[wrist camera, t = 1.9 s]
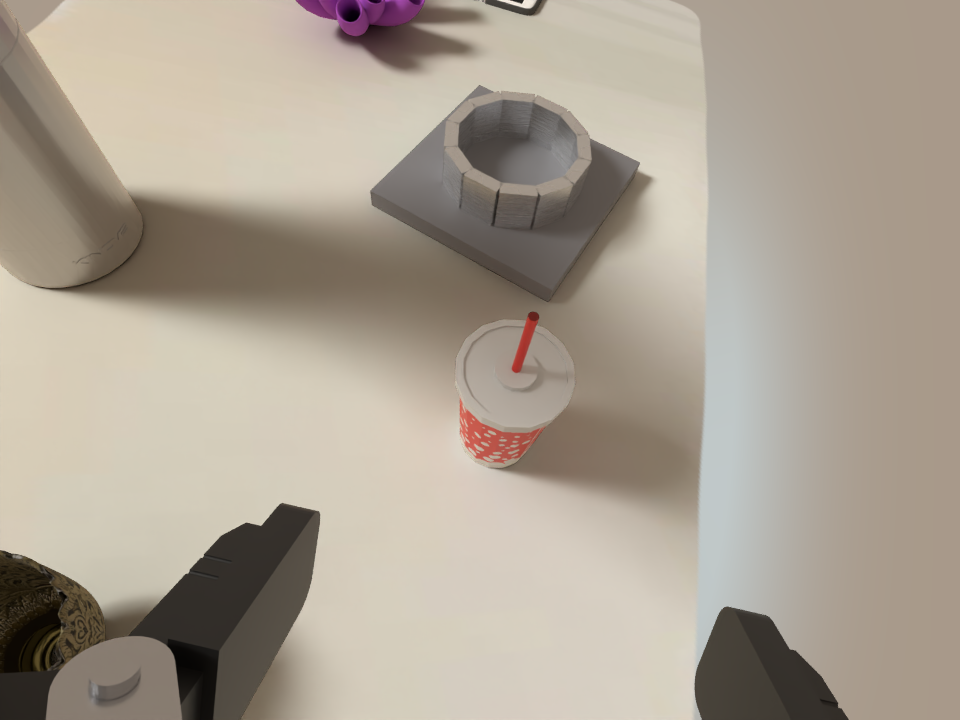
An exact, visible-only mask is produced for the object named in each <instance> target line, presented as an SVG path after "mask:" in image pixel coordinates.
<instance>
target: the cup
mask: <svg viewBox="0 0 960 720" xmlns="http://www.w3.org/2000/svg"><path fill="white" fill-rule="evenodd" d="M104 641H105V623H104V618H103V614H102V611H101V609H100V607H99V605H98V603H97V601H96V600H95V599H94V597H93V596H92V595H91V594H90V593H89V592H88V591H87V590H86V589H85V588H84V587H82V586H81V585H80V584H78V583H77V582H75V581H74V580H72V579H70V578H68V577H66V576H65V575H63V574H61V573H59V572H56V571H54V570H52V569H50V568H48V567H46V566H44V565H41V564H39V563H37V562H36V561H34V560H32V559H30V558H27V557H25V556H22V555H18V554H11V553H9V552H6V551H2V550H0V673H17V672H36V671H50V670H58V669H62V668H63V667H64V666H65V665H66V663H68V662H69V661H70V660H71V659H72V658H74V657H75V656H76V655H78V654H80V653H81V652H83V651H84V650H86V649H88V648H90V647H92V646H94V645H96V644H99V643H101V642H104ZM55 645H56V649H55V653H56V656H57V658H58V661H57V663H55V664H54V665H53V666H52V665H51V661H50V657H51V653H52V650H53V648H54V647H55Z"/></svg>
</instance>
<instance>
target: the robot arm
mask: <svg viewBox="0 0 960 720" xmlns="http://www.w3.org/2000/svg"><path fill="white" fill-rule="evenodd" d="M142 230H143V221H142V216H141V214H140V212H139V210H138V208H137V206H136V205H135V203H134V202H133V200H132V199H131V197H130V195H129V194H128V192H127V191H126V189H125V188H124V186H123V185H122V183H121V181H120V180H119V178H118V177H117V175H116V174H115V172H114V170H113V168H112V167H111V165H110V164H109V162H108V161H107V159H106V158H105V156H104V154H103V153H102V151H101V150H100V148H99V147H98V145H97V144H96V142H95V140H94V139H93V137H92V136H91V134H90V133H89V131H88V130H87V128H86V126H85V125H84V123H83V122H82V120H81V119H80V117H79V115H78V114H77V112H76V111H75V109H74V108H73V106H72V105H71V103H70V101H69V100H68V98H67V97H66V95H65V94H64V92H63V91H62V89H61V87H60V86H59V84H58V83H57V81H56V80H55V78H54V77H53V75H52V73H51V72H50V70H49V69H48V67H47V66H46V64H45V63H44V61H43V59H42V58H41V56H40V55H39V53H38V52H37V50H36V49H35V47H34V45H33V44H32V42H31V41H30V39H29V38H28V36H27V35H26V33H25V31H24V30H23V28H22V27H21V25H20V24H19V22H18V21H17V19H16V18H15V17H14V15H13V13H12V12H11V10H10V9H9V7H8V6H7V4H6V2H5V1H4V0H0V264H1V265H2V266H3V267H4V268H5V269H6V270H7V271H8V272H9V273H10V274H12V275H13V276H15V277H16V278H18V279H19V280H20V281H23V282H26V283H28V284H31V285H34V286H40V287H46V288H63V287H70V286H76V285H80V284H84V283H87V282H90V281H93V280H96V279H98V278H100V277H102V276H104V275H106V274H108V273H110V272H111V271H113V270H114V269H116V268H117V267H119V266H120V265H121V264H122V263H123V262H124V261H125V260H126V259H127V258H128V257H130V256H131V254H132V253H133V251H134V250H135V249H136V247H137V246H138V243H139V241H140V239H141V236H142ZM319 525H320V513H319V511H315V510H310V509H306V508H301V507H297V506H293V505H288V504H284V503H281V504H280V505H279V506H278V507H277V508H276V509H275V510H274V511H273V513H272V514H271V515H270V516H269V517H268V519H267V520H266V521H265V522H264V523H263V525H262V526H259V525H254V524H250V523H245V524H243V525H241V526H239V527H237V528H235V529H233V530H231V531H230V532H228V533H226V534H224V535H222V536H221V537H220V538H219V539H218V540H217V541H216V542H215V543H214V544H213V545H212V546H211V547H210V549H209V550H208V551H207V552H206V553H205V554H204V557H203V558H200V559H199V560H198V561H197V563H196V564H195V565H194V566H193V567H192V568H191V569H190V571H189V573H188V574H185V575H184V576H183V578H182V579H181V580H180V581H179V582H178V583H177V584H176V585H175V586H174V587H173V588H172V589H171V590H170V592H169V593H168V594H167V595H166V596H165V597H164V598H163V599H162V600H161V601H160V602H159V603H158V604H157V606H156V607H155V608H154V609H153V610H152V611H151V612H150V613H149V614H148V615H147V616H146V617H145V618H144V620H143V621H142V622H141V623H140V624H139V625H138V626H137V627H136V628H135V629H134V630H133V631H132V632H131V634H130V635H129V636H127V637H120V638H114V639H111V640H107V641H104V642H101V643H99V644H96V645H94V646H92V647H90V648H88V649H86V650H84V651H83V652H81V653H80V654H78V655H76V656H75V657H74V658H72V659H71V660H70V661H69V662H68V663H66V665H65V666H64V667H63V668H62V669H58V670H50V671H36V672H17V673H0V720H240V719H241V717H242V715H243V713H244V712H245V710H246V708H247V706H248V704H249V703H250V701H251V699H252V697H253V695H254V694H255V692H256V690H257V688H258V686H259V685H260V683H261V681H262V679H263V678H264V676H265V674H266V672H267V670H268V669H269V667H270V665H271V663H272V661H273V660H274V658H275V656H276V654H277V652H278V651H279V649H280V647H281V645H282V644H283V642H284V640H285V638H286V636H287V635H288V633H289V631H290V629H291V627H292V626H293V624H294V622H295V620H296V618H297V617H298V615H299V613H300V611H301V609H302V607H303V605H304V602H305V600H306V597H307V594H308V591H309V588H310V584H311V580H312V574H313V567H314V560H315V553H316V546H317V539H318V532H319ZM695 698H696V703H697V706H698V709H699V712H700V715H701V718H702V720H848V718H847V716H846V715H845V713H844V712H843V710H842V709H840V708H838V702H837V701H836V699H835V697H834V696H833V694H832V693H831V691H830V690H829V688H828V686H827V685H826V683H825V682H824V680H823V678H822V677H821V676H820V675H819V674H818V673H817V672H816V671H815V670H814V669H813V668H812V667H811V666H810V665H809V664H808V663H807V662H806V661H805V660H804V659H803V658H802V657H801V656H800V655H799V654H798V653H797V652H796V651H794V650H790V649H789V647H788V646H787V644H786V643H785V641H784V639H783V637H782V636H781V634H780V633H779V631H778V629H777V627H776V626H775V624H774V622H773V621H772V620H771V619H770V618H769V617H768V616H766V615H762V614H757V613H753V612H749V611H745V610H740V609H736V608H731V607H724V608H723V609H722V610H721V611H720V613H719V615H718V617H717V620H716V622H715V625H714V627H713V630H712V632H711V635H710V637H709V640H708V642H707V645H706V648H705V650H704V652H703V655H702V657H701V660H700V662H699V665H698V667H697V671H696V676H695Z"/></svg>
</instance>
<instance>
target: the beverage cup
mask: <svg viewBox="0 0 960 720" xmlns="http://www.w3.org/2000/svg"><path fill="white" fill-rule="evenodd" d="M538 319H539V315H538V314H537V313H536V312H530V313H529V314H528V317H527V320H509V319H502V320H498V321H495V322H492V323H489V324H485V325H482V326H481V327H479V328H478V329H477V330H476V331H474V332H473V333H472V334H471V335H470V336H468V337H467V338H466V339H465V341H464V343H463V345H462V347H461V349H460V350H459V352H458V354H457V356H456V366H455V387H456V389H457V391H458V394H459V396H460V441H461V443H462V445H463V448H464V450H465V452H466V453H467V454H468V455H469V456H470V457H471V458H472V459H473V460H474V461H475V462H477V463H479V464H481V465H483V466H486V467H488V468H504V467H507V466H509V465H512V464H514V463H516V462H517V461H518V460H519V459H520V458H521V457H522V456H523V455H524V454H525V453H526V452H527V451H528V449H529V448H530V447H531V445H532V444H533V443H534V441H535V440H536V439H537V437H538V436H539V435H540V433H541V432H542V431H543V429H544V428H545V427H546V426H547V425H549V424H550V423H551V422H552V421H553V420H554V419H555V418H556V417H557V416H558V415H560V414H561V413H562V412H563V411H564V409H565V408H566V407H567V405H568V404H569V401H570V398H571V396H572V393H573V390H574V387H575V385H576V381H575V370H574V362H573V360H572V358H571V357H570V355H569V353H568V351H567V349H566V347H565V345H564V344H563V343H562V342H561V341H560V340H559V339H558V338H557V337H555V336H554V335H553V334H552V333H551V332H550V331H548V330H547V329H546V328H543V327H541V326H538V325H537V322H538Z"/></svg>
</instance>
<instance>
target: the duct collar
mask: <svg viewBox="0 0 960 720" xmlns="http://www.w3.org/2000/svg"><path fill="white" fill-rule="evenodd" d="M497 136H501V137H511V138H521V139H527V140H529V141H531V142H533V143H535V144H537V145H539V146H541V147H543V148H545V149H547V150H549V151H551V152H552V153H553V155H554V156H555V157H556V158H557V160H558V161H559V162H560V163H561V165H562V166H563V167H564V168H565V170H566V174H565V175H564V176H563V177H560V178H557V179H554V180H551V181H548V182H545V183H542V184H539V185H536V186H533V185H522V184H511V183H502V182H500V181H498V180H496V179H494V178H492V177H490V176H488V175H486V174H484V173H482V172H480V171H478V170H476V169H474V168H473V167H472V166H471V164H470V163H469V161H468V160H467V158H466V157H465V156H464V154H463V153H464V152H465V151H466V150H467V149H468V148H469V147H470V146H471V145H472V144H473V143H477V142H480V141H483V140H487V139H490V138H493V137H497ZM591 161H592V158H591V147H590V137H589V135H588V132H587V131H586V130H585V128H584V127H583V126H582V125H581V124H580V123H579V121H578V120H577V119H576V118H575V117H574V116H573V114H572V113H571V112H570V111H568V112H567V109H566V108H564V107H561V106H559V105H557V104H555V103H553V102H551V101H549V100H547V99H545V98H543V97H541V96H538V95H537V97H536V98H535V94H526V93H516V92H507V91H501V94H500V93H499V91H497V92H494V93H490V94H486V95H483V96H479V97H475V98H472V99H468V101H465V102H464V103H463V104H462V105H461V106H460V107H459V108H458V109H457V110H456V111H455V112H454V113H453V114H452V115H451V116H450V117H449V118H448V119H447V121H446V128H445V140H444V157H443V181H442V182H443V185H444V186H445V188H446V190H447V191H448V193H449V194H450V196H451V197H452V199H453V200H454V202H455V203H456V205H457V206H458V208H461V210H462V211H464V212H466V213H467V214H469V215H471V216H473V217H475V218H477V219H479V220H481V221H482V222H484V223H486V224H488V225H490V226H491V225H492V224H493V223H494V227H500V228H512V229H524V230H529V229H530V227H531V228H532V230H533V229H535V228H538V227H541V226H544V225H546V224H549V223H552V222H554V221H557V220H560V219H562V217H565V215H566V214H567V212H568V211H569V210H570V208H571V207H572V206H573V204H574V203H575V202H576V200H577V199H578V198H579V196H580V193H581V190H582V187H583V184H584V181H585V178H586V176H587V173H588V170H589V167H590V164H591Z"/></svg>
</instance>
